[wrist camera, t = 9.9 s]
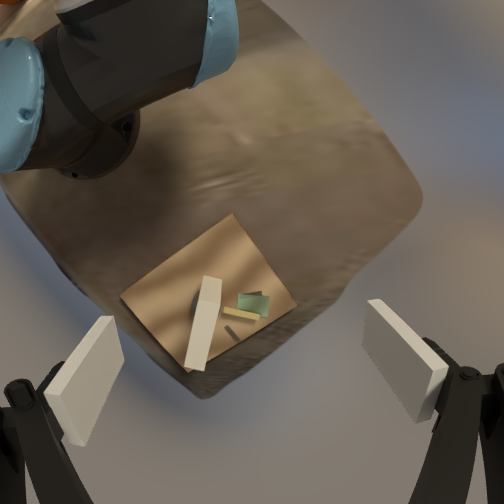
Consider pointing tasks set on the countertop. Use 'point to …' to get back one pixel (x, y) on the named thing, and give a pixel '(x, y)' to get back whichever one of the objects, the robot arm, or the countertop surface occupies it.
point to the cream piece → (207, 321)
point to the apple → (8, 1)
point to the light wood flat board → (190, 281)
